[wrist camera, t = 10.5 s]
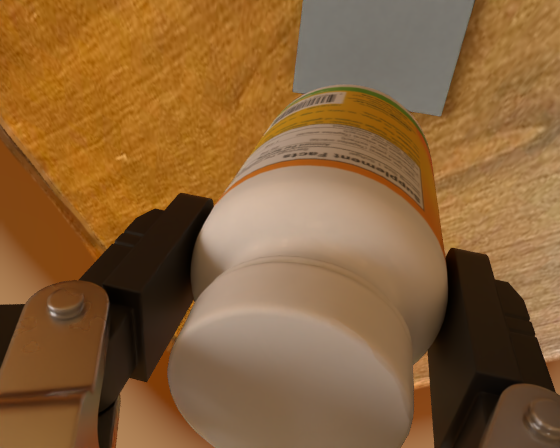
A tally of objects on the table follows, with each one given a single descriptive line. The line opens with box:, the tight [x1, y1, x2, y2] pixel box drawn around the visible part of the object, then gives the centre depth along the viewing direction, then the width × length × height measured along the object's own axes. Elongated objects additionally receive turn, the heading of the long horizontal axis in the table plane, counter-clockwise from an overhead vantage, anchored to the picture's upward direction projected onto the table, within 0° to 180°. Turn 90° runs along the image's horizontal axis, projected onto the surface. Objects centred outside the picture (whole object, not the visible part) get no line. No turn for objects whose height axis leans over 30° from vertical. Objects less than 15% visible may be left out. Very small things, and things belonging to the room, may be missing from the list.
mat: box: [293, 0, 475, 116], centre depth 27 cm, size 9×8×1 cm
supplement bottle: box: [168, 85, 448, 448], centre depth 12 cm, size 5×5×10 cm
